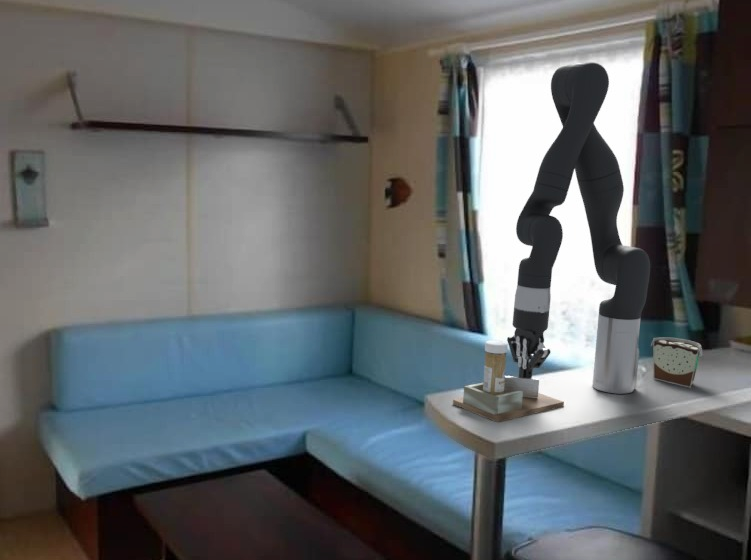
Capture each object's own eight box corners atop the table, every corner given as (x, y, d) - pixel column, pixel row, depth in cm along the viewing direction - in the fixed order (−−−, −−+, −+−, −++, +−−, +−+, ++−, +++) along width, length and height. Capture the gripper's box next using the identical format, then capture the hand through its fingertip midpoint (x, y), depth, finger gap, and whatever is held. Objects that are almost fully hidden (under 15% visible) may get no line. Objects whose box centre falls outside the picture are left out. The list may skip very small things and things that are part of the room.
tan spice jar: (504, 409, 161) (508, 345, 159) (482, 408, 161) (486, 343, 159) (502, 402, 165) (506, 340, 163) (480, 401, 166) (484, 338, 163)
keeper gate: (486, 394, 169) (488, 376, 169) (486, 392, 171) (487, 374, 170) (538, 398, 169) (539, 379, 168) (537, 395, 170) (538, 377, 170)
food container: (707, 384, 189) (712, 344, 188) (696, 389, 185) (701, 347, 184) (659, 373, 198) (663, 334, 196) (647, 377, 194) (651, 337, 192)
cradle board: (518, 390, 178) (519, 371, 177) (563, 406, 168) (565, 385, 167) (453, 404, 166) (454, 383, 165) (497, 422, 156) (498, 400, 155)
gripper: (499, 301, 173) (493, 377, 176) (536, 313, 162) (528, 394, 164) (527, 300, 177) (520, 375, 179) (565, 312, 165) (557, 392, 168)
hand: (524, 384), depth 172 cm, fingers closed
